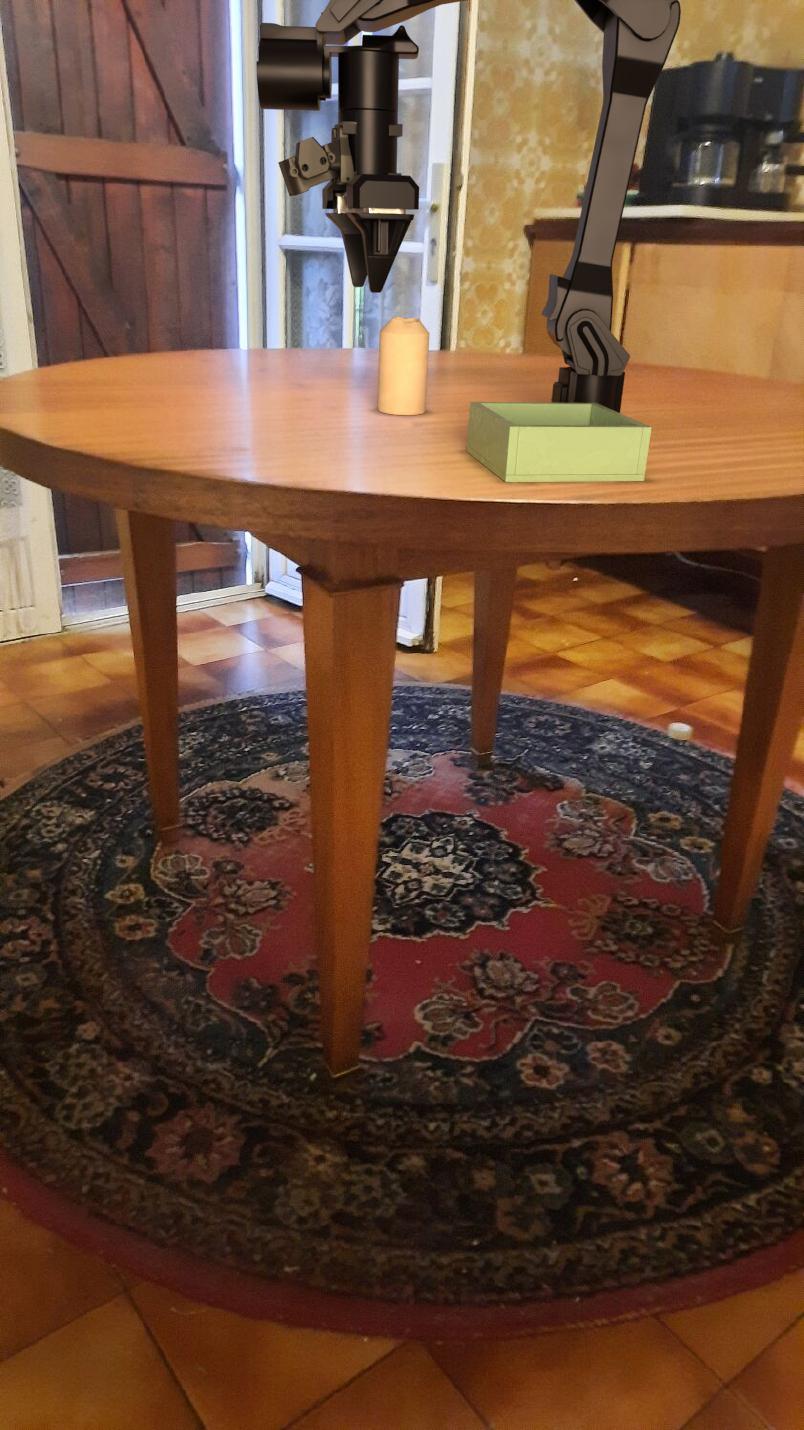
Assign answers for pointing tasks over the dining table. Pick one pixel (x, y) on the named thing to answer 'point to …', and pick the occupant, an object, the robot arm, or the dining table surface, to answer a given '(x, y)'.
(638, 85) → the robot arm
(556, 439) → the green open tray
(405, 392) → the candle
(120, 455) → the dining table surface
